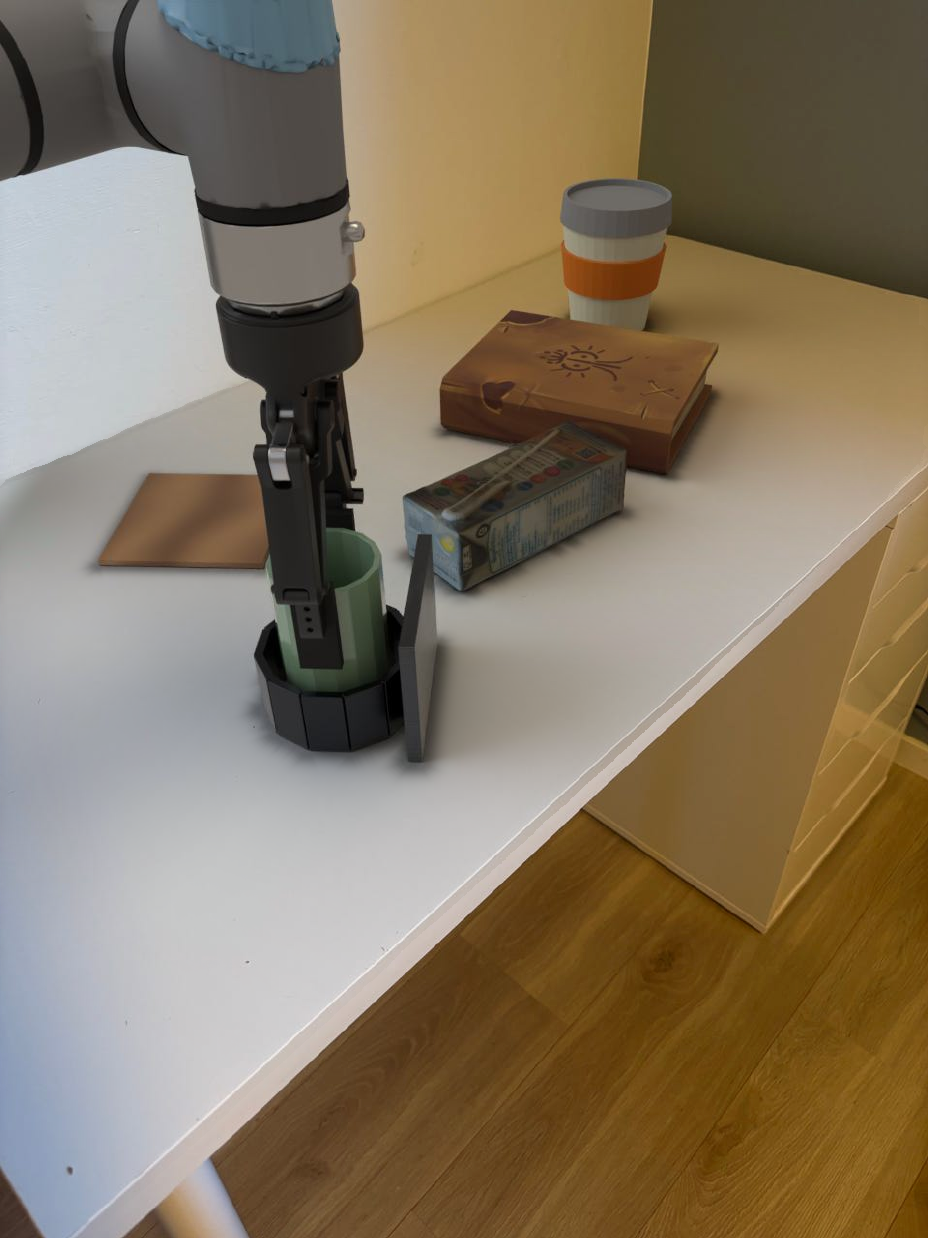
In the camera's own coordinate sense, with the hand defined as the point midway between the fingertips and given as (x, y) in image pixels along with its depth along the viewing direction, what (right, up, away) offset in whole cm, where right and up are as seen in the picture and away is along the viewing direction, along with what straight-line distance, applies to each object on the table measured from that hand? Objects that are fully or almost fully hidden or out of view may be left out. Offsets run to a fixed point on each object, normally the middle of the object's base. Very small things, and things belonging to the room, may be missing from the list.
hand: (332, 625), depth 66 cm
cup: (0, -5, +4) cm, 7 cm away
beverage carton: (+13, +8, +20) cm, 25 cm away
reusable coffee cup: (+26, +36, +54) cm, 70 cm away
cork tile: (-15, +9, +22) cm, 28 cm away
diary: (+21, +22, +36) cm, 47 cm away
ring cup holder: (0, -5, +4) cm, 7 cm away
